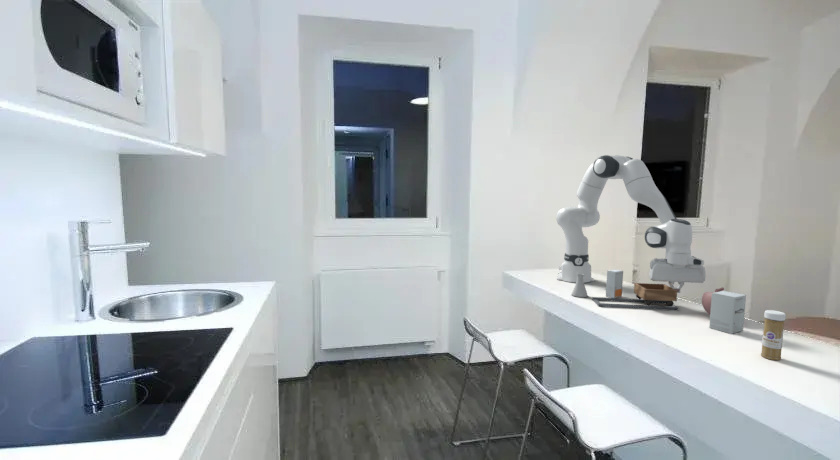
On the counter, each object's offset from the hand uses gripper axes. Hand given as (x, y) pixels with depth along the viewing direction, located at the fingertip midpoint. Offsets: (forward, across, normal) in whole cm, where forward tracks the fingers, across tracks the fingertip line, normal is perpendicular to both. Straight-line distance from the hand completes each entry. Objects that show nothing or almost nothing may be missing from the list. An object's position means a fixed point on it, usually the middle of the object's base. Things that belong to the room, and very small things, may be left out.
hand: (675, 292), depth 173 cm
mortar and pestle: (+6, +10, -14) cm, 18 cm away
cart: (+4, -8, 0) cm, 9 cm away
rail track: (+6, -16, 0) cm, 17 cm away
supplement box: (+6, +5, -28) cm, 29 cm away
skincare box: (+6, -20, +13) cm, 25 cm away
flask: (+6, -35, +12) cm, 37 cm away
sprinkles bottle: (+6, +4, -53) cm, 54 cm away
